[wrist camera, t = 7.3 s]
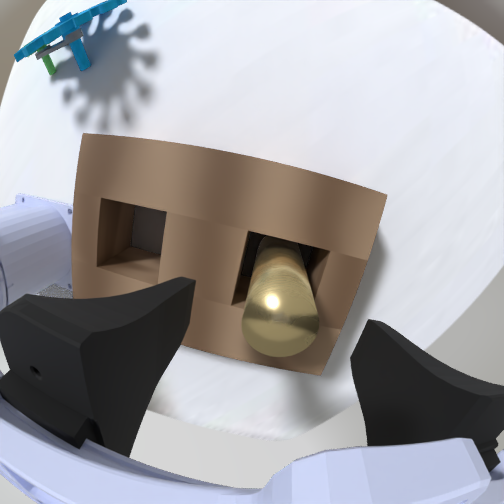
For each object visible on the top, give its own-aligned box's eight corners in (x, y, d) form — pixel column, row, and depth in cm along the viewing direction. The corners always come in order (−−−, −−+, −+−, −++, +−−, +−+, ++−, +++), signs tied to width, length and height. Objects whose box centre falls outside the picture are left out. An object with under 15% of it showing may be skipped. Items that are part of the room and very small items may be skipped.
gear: (146, -20, 13) (61, 16, 8) (160, 34, 18) (90, 88, 13) (60, 17, 15) (-12, 67, 10) (76, 58, 20) (13, 114, 15)
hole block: (106, 281, 22) (73, 306, 17) (121, 138, 19) (82, 133, 14) (313, 335, 22) (320, 375, 17) (360, 188, 18) (387, 194, 14)
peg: (253, 267, 21) (235, 348, 11) (262, 227, 20) (250, 283, 10) (293, 276, 21) (306, 362, 11) (304, 237, 20) (329, 299, 10)
